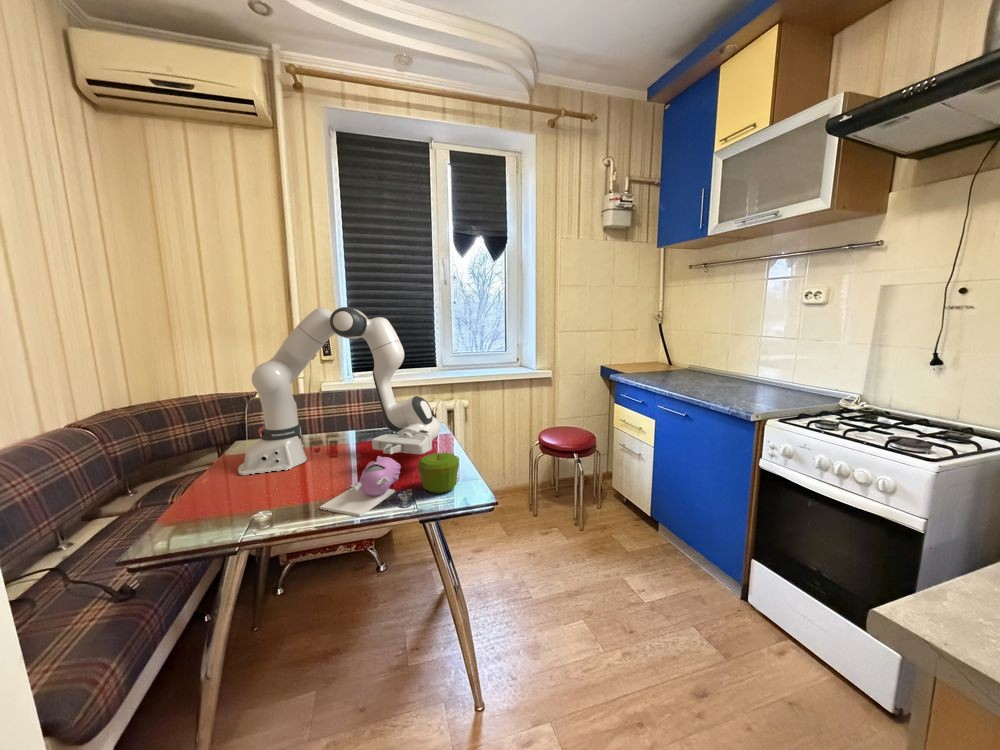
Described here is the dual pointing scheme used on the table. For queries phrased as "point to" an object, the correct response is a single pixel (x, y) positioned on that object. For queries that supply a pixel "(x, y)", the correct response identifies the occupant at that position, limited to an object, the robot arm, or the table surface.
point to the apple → (438, 472)
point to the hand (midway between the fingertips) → (386, 451)
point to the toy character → (378, 476)
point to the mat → (355, 502)
